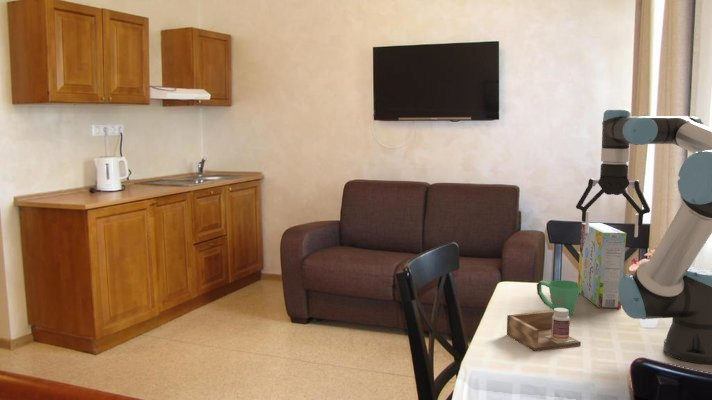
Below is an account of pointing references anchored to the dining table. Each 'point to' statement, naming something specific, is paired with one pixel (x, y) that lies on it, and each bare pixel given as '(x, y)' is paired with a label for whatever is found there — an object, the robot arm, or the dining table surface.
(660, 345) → the dining table surface
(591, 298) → the snack box
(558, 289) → the mug
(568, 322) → the pill bottle
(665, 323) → the dining table surface
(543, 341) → the wooden corner tray
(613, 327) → the dining table surface
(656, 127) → the robot arm
